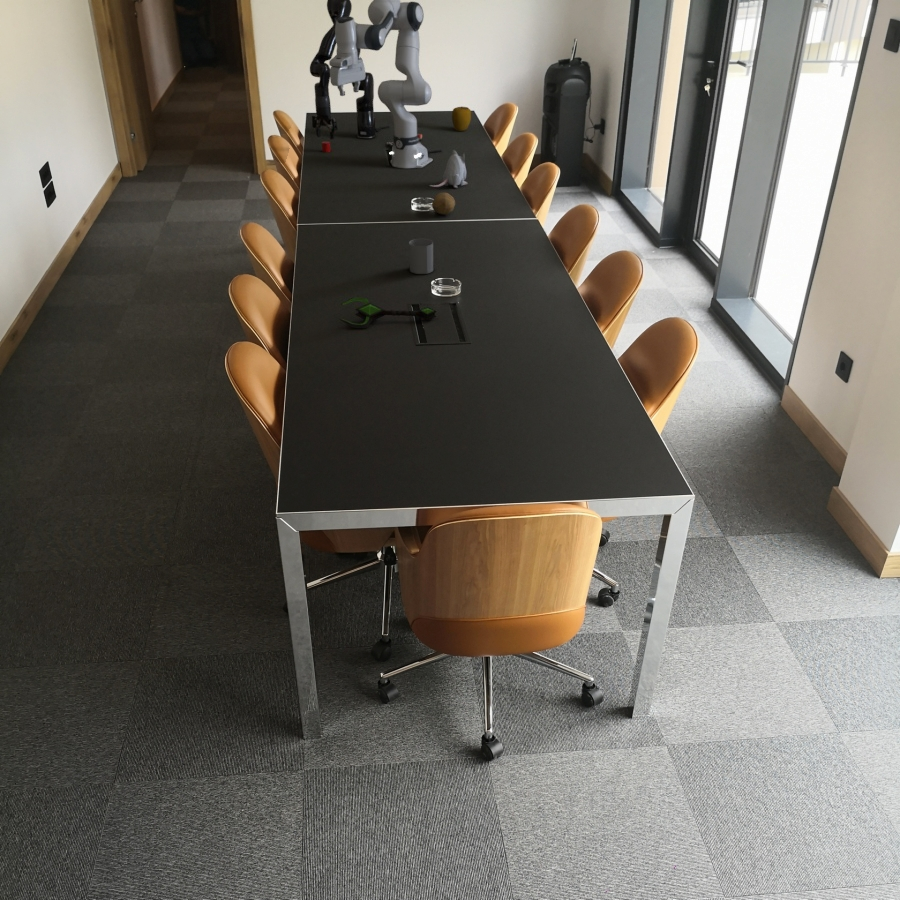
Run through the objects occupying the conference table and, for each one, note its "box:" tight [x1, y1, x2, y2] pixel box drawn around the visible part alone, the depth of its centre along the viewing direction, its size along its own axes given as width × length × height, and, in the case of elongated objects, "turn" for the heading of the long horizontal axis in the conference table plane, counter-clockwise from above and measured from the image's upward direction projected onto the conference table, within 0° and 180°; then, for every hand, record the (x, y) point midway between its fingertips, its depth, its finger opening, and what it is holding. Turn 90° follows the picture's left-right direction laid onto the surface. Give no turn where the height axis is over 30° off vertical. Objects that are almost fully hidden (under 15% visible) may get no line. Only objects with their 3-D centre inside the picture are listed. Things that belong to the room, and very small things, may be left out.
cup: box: [408, 237, 434, 275], centre depth 305 cm, size 8×8×10 cm
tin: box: [321, 141, 332, 153], centre depth 450 cm, size 4×4×4 cm
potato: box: [431, 192, 456, 216], centre depth 360 cm, size 10×14×8 cm
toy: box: [428, 149, 468, 189], centre depth 390 cm, size 9×24×15 cm, turn 137°
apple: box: [451, 105, 472, 132], centre depth 487 cm, size 11×11×13 cm
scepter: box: [339, 296, 438, 329], centre depth 270 cm, size 6×13×30 cm
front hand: (349, 93), depth 377 cm, fingers open, 8 cm apart
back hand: (325, 137), depth 448 cm, fingers open, 8 cm apart
